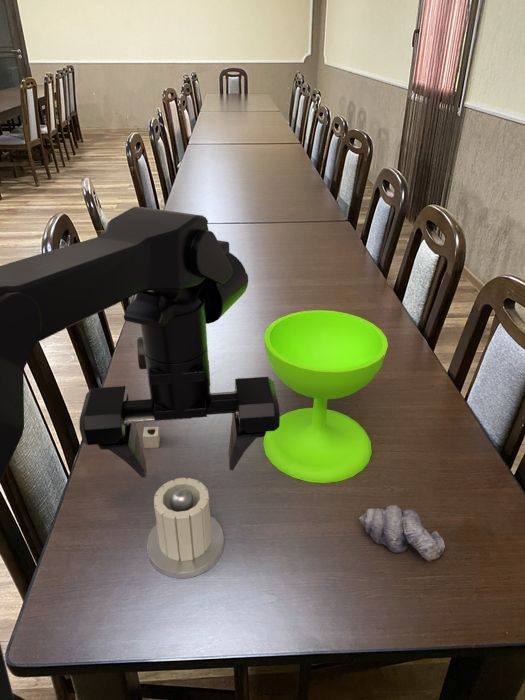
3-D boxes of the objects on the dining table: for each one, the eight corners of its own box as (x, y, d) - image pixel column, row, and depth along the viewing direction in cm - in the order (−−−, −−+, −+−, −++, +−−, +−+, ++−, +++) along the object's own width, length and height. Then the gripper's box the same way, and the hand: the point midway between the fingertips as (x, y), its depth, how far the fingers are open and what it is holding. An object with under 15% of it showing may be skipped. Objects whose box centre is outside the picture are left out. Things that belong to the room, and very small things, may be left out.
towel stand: (147, 584, 59) (138, 529, 55) (147, 520, 67) (140, 468, 62) (228, 572, 61) (226, 518, 56) (220, 511, 68) (217, 459, 64)
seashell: (441, 560, 64) (357, 537, 67) (448, 515, 64) (365, 494, 67) (442, 571, 59) (352, 546, 62) (450, 522, 59) (360, 499, 62)
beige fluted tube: (160, 564, 60) (153, 521, 57) (159, 522, 65) (153, 480, 62) (213, 557, 61) (210, 514, 57) (208, 516, 66) (206, 474, 63)
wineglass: (325, 398, 89) (334, 300, 79) (395, 455, 77) (414, 348, 68) (242, 432, 81) (241, 328, 72) (305, 500, 70) (313, 387, 61)
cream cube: (160, 438, 80) (158, 425, 79) (159, 447, 78) (157, 434, 77) (145, 438, 80) (143, 425, 79) (144, 448, 78) (142, 435, 77)
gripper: (266, 301, 57) (265, 416, 65) (85, 311, 55) (108, 428, 63) (282, 358, 47) (278, 484, 56) (64, 372, 45) (94, 500, 54)
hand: (188, 470), depth 57 cm, fingers open, 9 cm apart
